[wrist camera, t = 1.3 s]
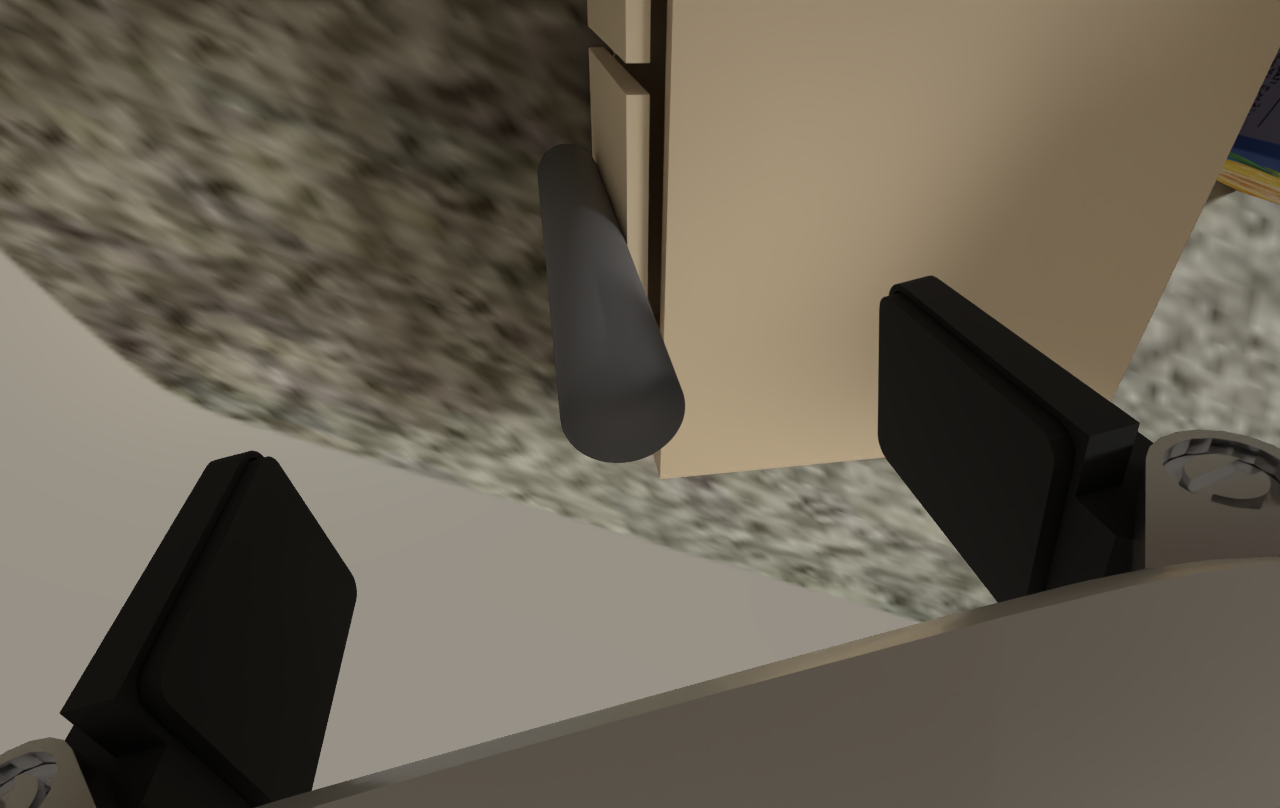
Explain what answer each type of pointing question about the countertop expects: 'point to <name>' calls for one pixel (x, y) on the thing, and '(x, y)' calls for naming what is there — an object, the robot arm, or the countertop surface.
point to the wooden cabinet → (918, 190)
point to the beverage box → (1258, 144)
